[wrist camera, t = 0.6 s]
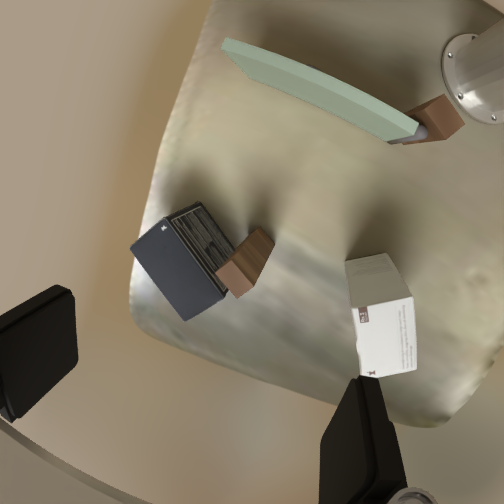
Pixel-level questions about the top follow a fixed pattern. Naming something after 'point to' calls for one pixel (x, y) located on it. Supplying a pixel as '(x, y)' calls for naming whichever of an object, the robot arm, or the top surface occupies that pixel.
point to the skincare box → (381, 316)
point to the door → (324, 92)
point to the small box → (185, 259)
